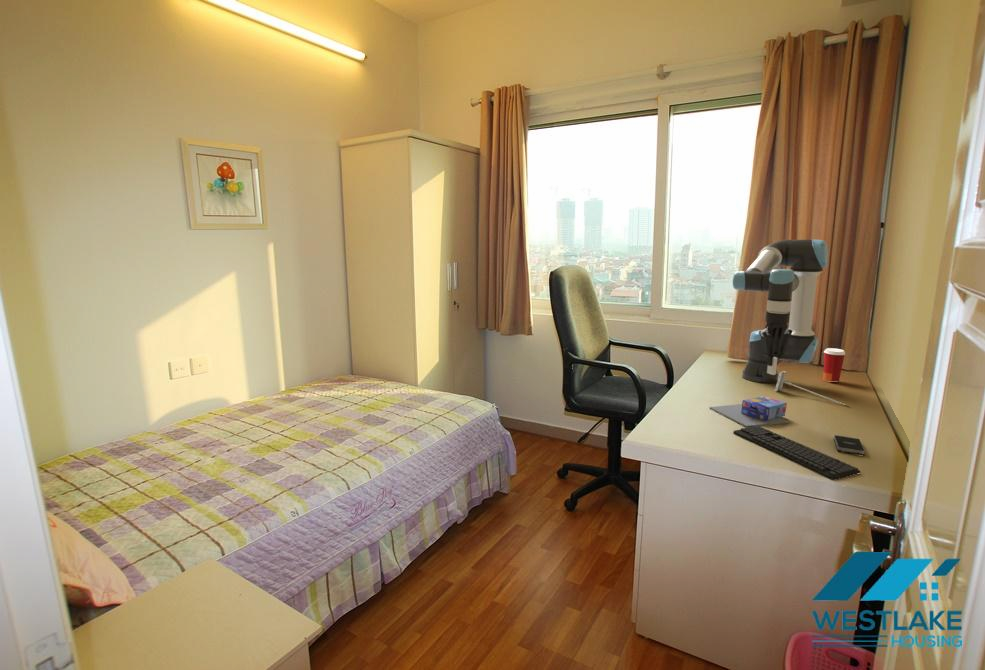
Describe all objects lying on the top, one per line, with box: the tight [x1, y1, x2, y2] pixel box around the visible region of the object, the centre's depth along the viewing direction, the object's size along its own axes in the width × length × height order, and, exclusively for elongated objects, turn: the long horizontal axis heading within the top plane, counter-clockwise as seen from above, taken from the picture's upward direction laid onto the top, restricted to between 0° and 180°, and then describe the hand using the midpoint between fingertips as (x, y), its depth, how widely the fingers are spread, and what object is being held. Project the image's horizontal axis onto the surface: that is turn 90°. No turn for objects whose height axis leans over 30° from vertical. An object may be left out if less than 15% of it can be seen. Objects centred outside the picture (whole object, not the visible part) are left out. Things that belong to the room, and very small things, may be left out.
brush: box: [774, 370, 847, 406], centre depth 202 cm, size 4×27×9 cm, turn 35°
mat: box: [709, 403, 790, 428], centre depth 185 cm, size 18×20×1 cm
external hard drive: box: [833, 434, 866, 457], centre depth 157 cm, size 7×11×2 cm, turn 151°
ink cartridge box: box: [741, 395, 788, 421], centre depth 183 cm, size 10×6×14 cm
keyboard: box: [732, 426, 861, 481], centre depth 154 cm, size 35×11×2 cm, turn 20°
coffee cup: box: [822, 347, 846, 382], centre depth 225 cm, size 8×8×15 cm
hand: (771, 373), depth 184 cm, fingers closed
